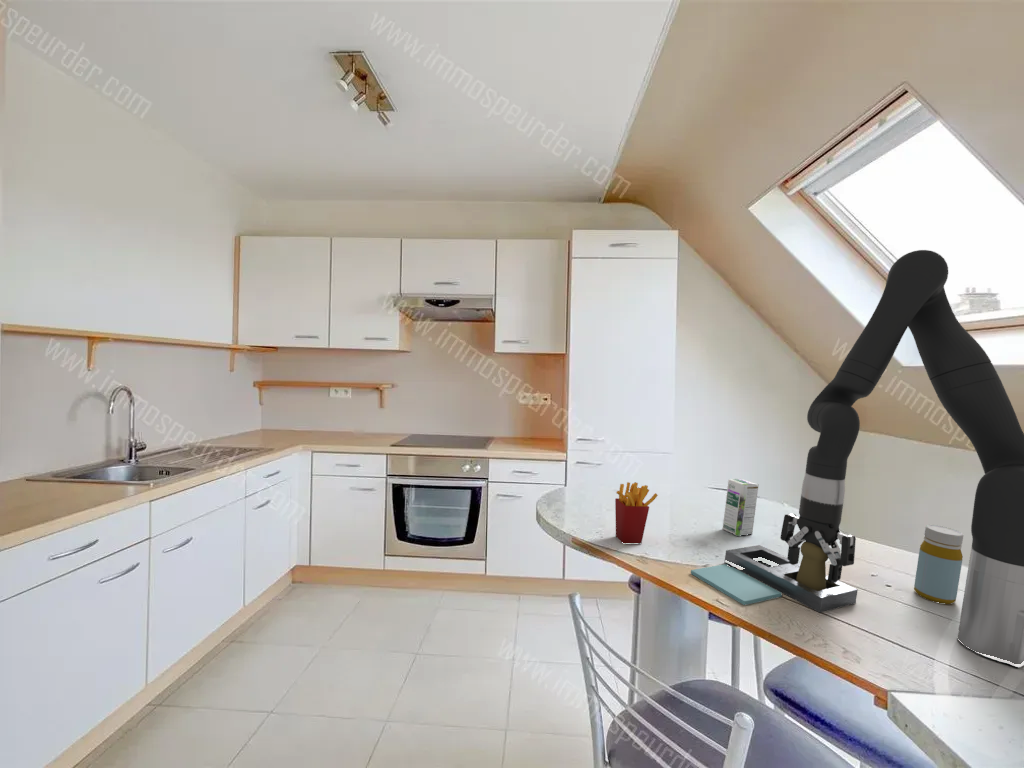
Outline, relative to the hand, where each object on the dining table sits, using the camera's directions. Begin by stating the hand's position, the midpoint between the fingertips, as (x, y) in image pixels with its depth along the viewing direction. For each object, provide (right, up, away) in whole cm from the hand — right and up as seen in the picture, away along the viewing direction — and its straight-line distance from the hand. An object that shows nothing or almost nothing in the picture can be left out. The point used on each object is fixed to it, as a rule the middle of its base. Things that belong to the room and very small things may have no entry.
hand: (812, 572), depth 106 cm
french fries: (-33, 0, +23) cm, 40 cm away
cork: (0, -5, 0) cm, 5 cm away
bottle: (+28, -7, +3) cm, 29 cm away
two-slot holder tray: (-3, -4, +5) cm, 7 cm away
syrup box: (0, -2, +35) cm, 35 cm away
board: (-15, -3, +2) cm, 16 cm away
